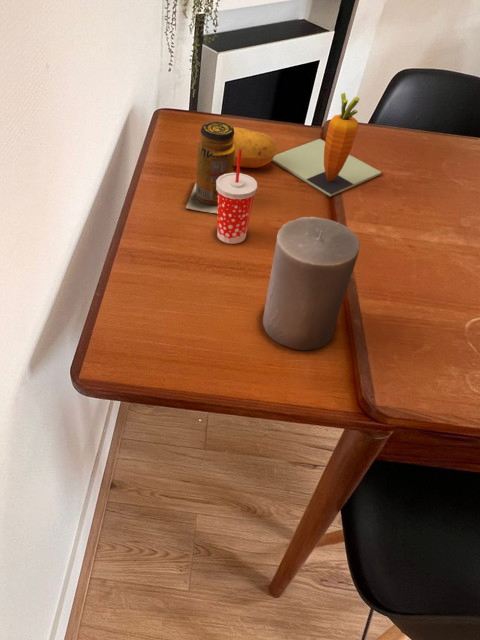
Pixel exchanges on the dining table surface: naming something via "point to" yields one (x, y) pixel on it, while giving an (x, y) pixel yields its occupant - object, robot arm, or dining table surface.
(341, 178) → the corner mat
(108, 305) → the dining table surface
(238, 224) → the beverage cup
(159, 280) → the dining table surface
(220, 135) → the condiment
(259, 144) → the potato
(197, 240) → the dining table surface
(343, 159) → the carrot
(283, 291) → the pillar candle
